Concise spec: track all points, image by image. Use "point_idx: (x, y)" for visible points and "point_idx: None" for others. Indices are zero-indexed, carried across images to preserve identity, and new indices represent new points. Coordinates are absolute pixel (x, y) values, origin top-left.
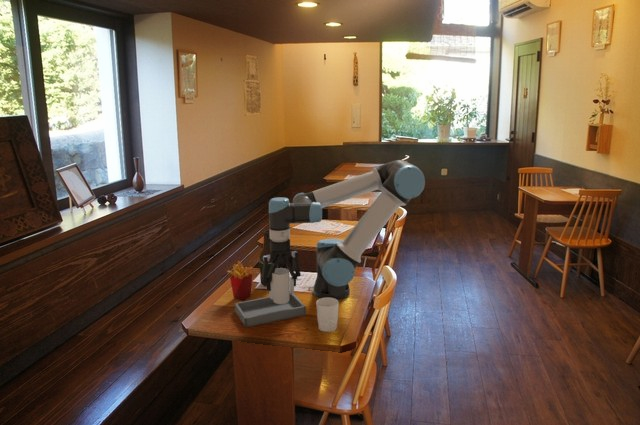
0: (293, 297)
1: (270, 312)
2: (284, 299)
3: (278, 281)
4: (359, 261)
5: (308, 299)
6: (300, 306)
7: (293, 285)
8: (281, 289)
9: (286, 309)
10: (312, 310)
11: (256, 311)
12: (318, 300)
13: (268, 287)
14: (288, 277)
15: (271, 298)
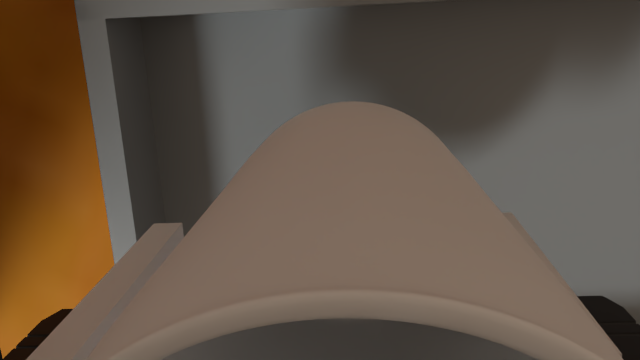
0: None
1: (481, 180)
2: (339, 110)
3: (498, 231)
4: None
5: (10, 339)
6: (135, 111)
7: (95, 295)
8: (396, 147)
9: (344, 2)
10: (25, 80)
11: (612, 261)
12: None
13: (625, 332)
14: (137, 296)
15: (515, 219)
